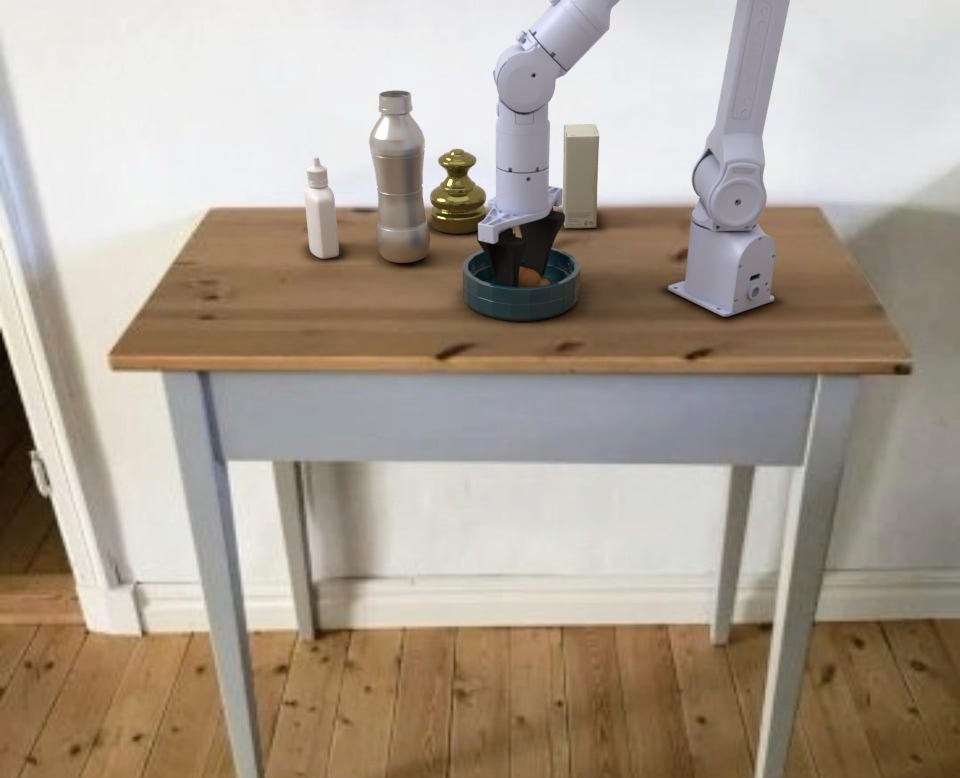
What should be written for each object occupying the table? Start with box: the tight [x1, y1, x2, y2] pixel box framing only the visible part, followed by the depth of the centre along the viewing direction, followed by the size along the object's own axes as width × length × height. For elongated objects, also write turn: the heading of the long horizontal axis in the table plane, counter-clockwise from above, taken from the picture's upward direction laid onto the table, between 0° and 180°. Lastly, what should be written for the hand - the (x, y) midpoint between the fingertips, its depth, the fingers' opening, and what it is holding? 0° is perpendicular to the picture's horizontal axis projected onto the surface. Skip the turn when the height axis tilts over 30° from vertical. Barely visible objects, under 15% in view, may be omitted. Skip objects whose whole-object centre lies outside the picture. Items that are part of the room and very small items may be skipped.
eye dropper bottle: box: [303, 156, 340, 260], centre depth 132 cm, size 4×6×12 cm
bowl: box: [462, 247, 581, 322], centre depth 122 cm, size 13×13×4 cm
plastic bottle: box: [368, 89, 431, 264], centre depth 128 cm, size 6×7×20 cm
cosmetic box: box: [562, 123, 600, 229], centre depth 140 cm, size 6×4×12 cm
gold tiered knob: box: [429, 148, 487, 235], centre depth 140 cm, size 7×7×10 cm
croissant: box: [518, 267, 551, 287], centre depth 122 cm, size 4×8×3 cm, turn 57°
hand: (521, 283), depth 122 cm, fingers open, 6 cm apart
